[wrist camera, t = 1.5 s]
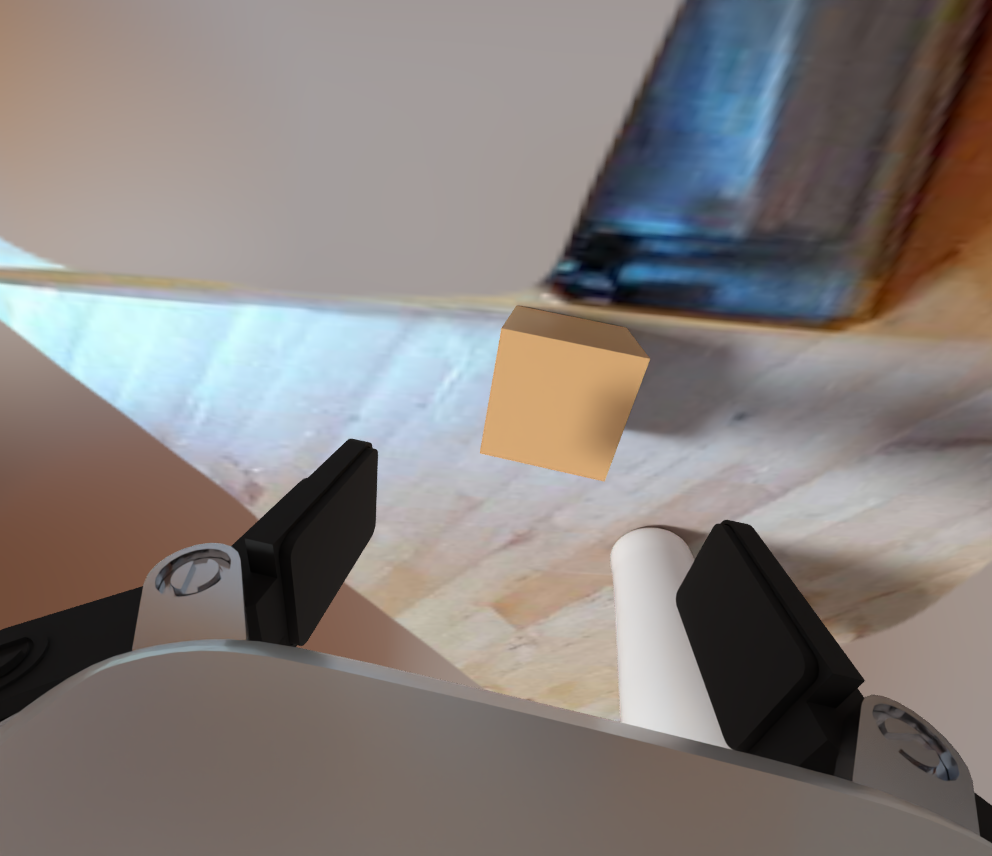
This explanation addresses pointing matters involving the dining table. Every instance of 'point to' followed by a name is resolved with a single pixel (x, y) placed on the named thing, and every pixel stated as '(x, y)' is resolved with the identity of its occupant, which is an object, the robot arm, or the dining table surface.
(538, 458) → the beige wooden cube
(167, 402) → the dining table surface
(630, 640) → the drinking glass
